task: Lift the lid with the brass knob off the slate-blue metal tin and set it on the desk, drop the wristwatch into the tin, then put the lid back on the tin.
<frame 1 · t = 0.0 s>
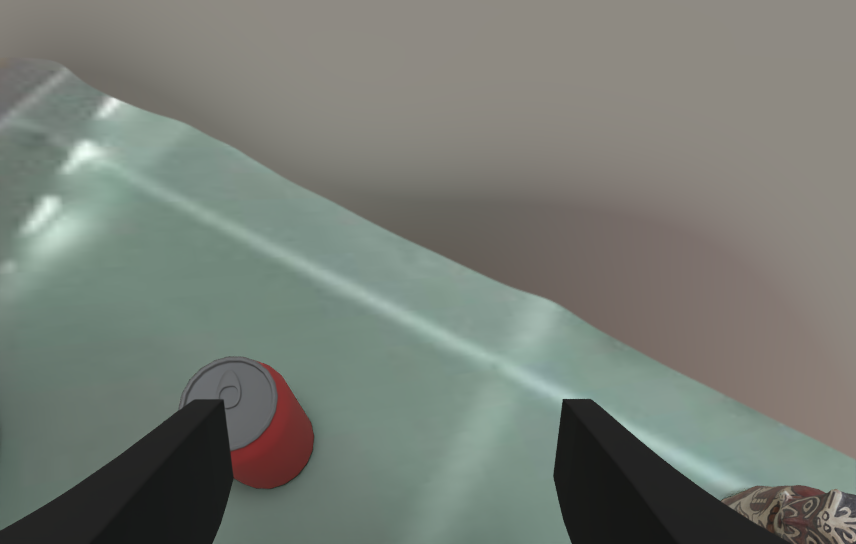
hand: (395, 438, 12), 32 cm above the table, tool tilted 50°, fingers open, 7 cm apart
figurine: (759, 541, 41), on the table
beer can: (271, 444, 43), on the table
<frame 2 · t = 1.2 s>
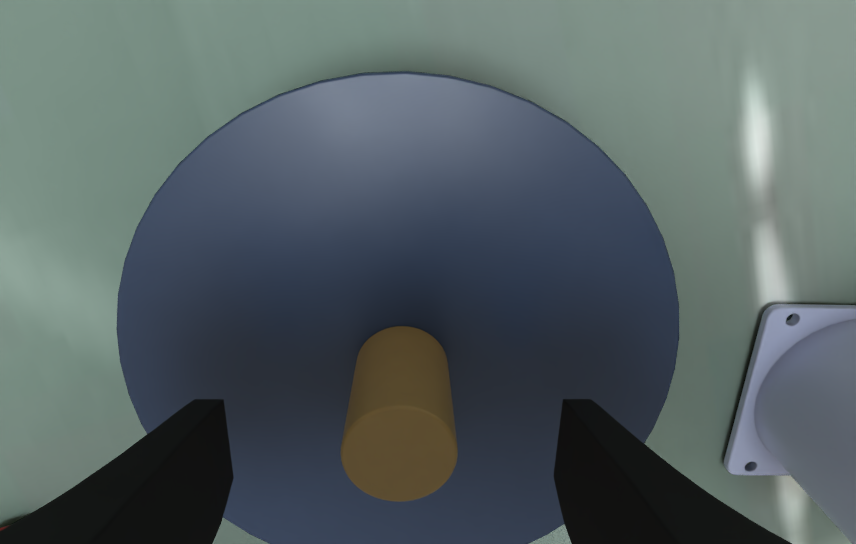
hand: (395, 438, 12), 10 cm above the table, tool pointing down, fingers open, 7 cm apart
tin lid: (402, 356, 15), point 6 cm above the table, touching tin
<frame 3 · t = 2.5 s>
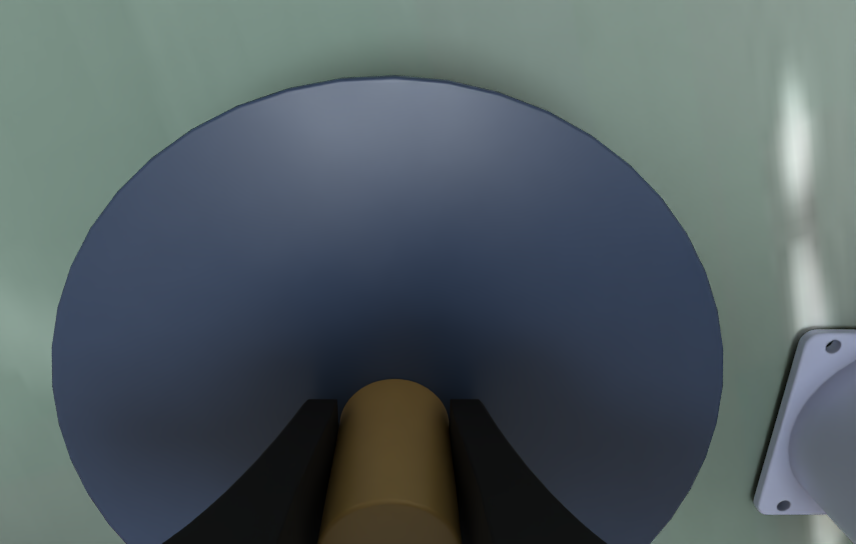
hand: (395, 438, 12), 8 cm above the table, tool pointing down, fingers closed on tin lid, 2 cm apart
tin lid: (395, 411, 13), point 6 cm above the table, touching gripper, tin
when the fingers open (2 cm above the table, at t = 6.9 s): tin lid stays where it is, point 1 cm above the table.
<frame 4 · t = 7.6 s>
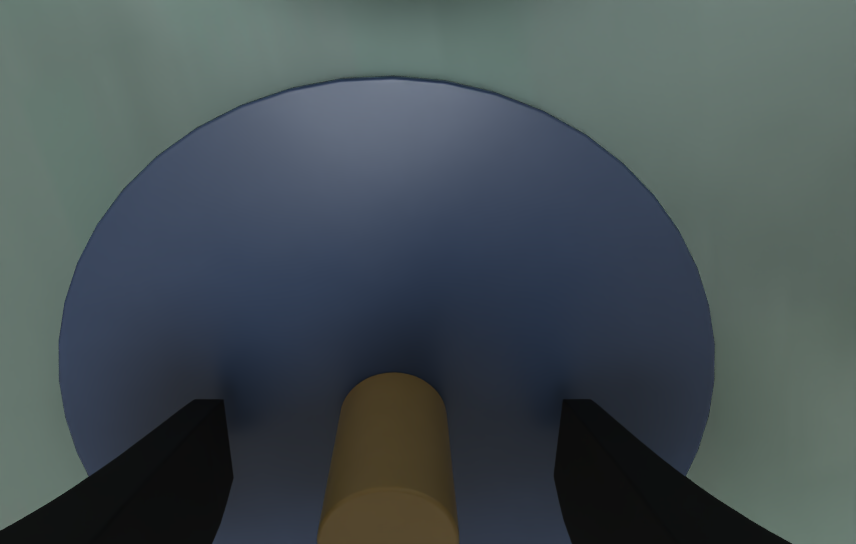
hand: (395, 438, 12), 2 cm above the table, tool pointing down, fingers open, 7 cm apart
tin lid: (394, 404, 13), point 1 cm above the table
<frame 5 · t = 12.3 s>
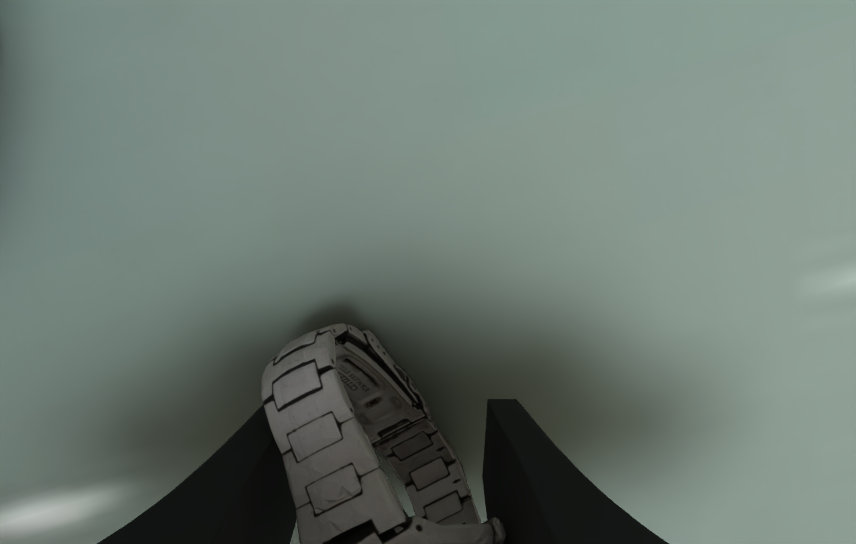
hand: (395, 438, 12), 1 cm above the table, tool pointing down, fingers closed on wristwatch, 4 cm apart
wristwatch: (391, 394, 14), on the table, touching gripper
when the fingers open (5 cm above the table, at t = 16.9 s): wristwatch drops 3 cm, resting on tin.
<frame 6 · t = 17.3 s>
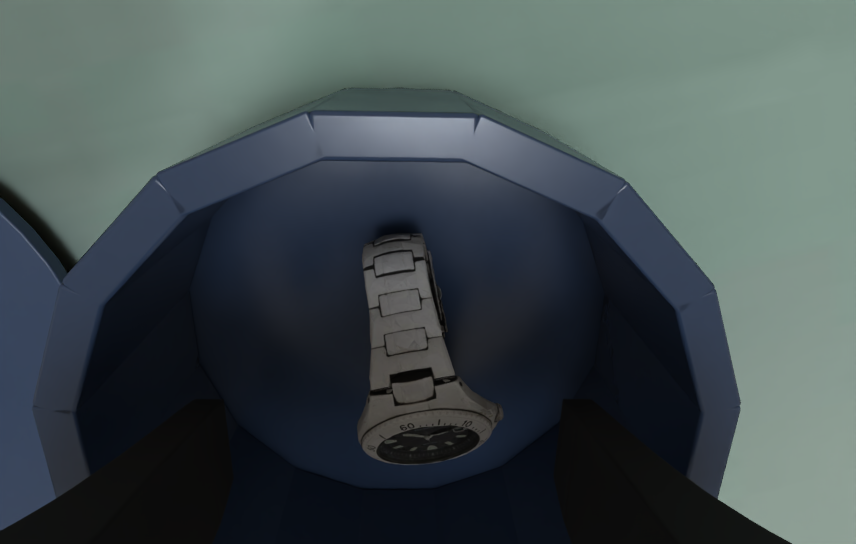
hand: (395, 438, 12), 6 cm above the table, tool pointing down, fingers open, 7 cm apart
wristwatch: (419, 309, 17), resting on tin
tin: (399, 320, 17), on the table
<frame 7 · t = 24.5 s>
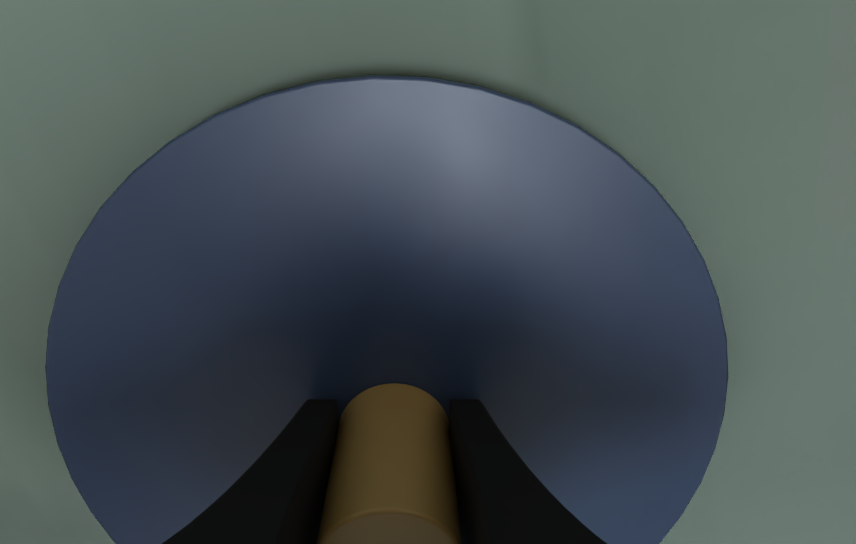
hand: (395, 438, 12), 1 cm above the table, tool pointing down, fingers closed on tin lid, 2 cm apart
tin lid: (394, 415, 13), point 1 cm above the table, touching gripper
when the fingers open (7 cm above the table, at t = 29.5 s): tin lid stays where it is, resting on tin.
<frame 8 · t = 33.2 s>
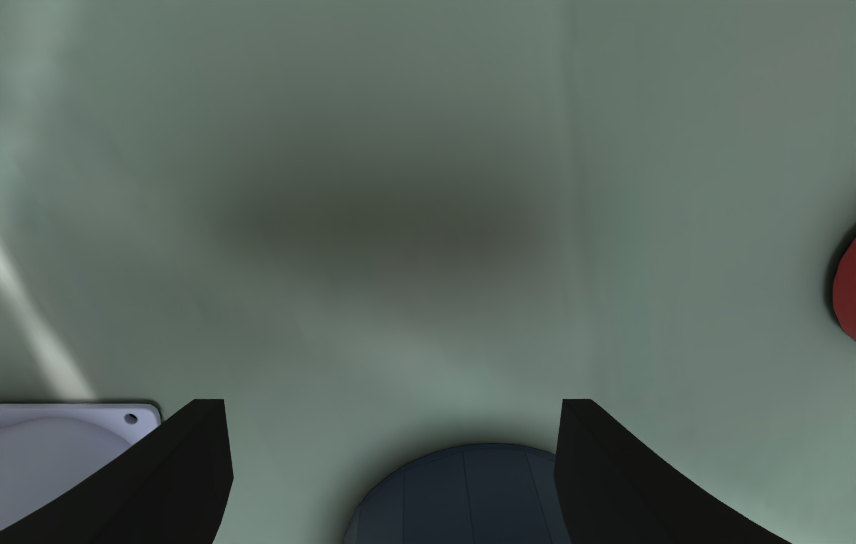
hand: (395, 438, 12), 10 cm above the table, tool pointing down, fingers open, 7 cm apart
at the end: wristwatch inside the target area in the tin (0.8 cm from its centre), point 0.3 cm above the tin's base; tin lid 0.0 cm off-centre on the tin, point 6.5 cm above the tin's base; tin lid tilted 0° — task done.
